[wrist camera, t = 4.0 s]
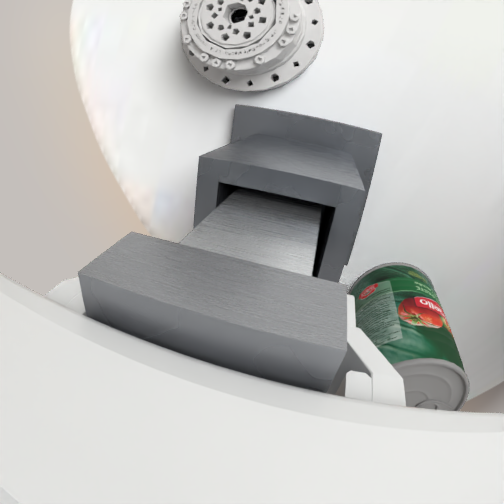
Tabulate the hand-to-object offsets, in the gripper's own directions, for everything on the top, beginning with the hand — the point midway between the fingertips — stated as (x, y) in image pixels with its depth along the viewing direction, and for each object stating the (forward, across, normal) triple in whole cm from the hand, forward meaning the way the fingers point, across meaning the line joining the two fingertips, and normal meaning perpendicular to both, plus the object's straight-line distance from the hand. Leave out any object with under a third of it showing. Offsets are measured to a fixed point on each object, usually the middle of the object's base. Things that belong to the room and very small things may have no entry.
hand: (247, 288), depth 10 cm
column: (+12, 0, 0) cm, 12 cm away
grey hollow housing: (+14, 0, 0) cm, 14 cm away
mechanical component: (+15, +5, -11) cm, 19 cm away
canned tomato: (+14, -10, +8) cm, 19 cm away
